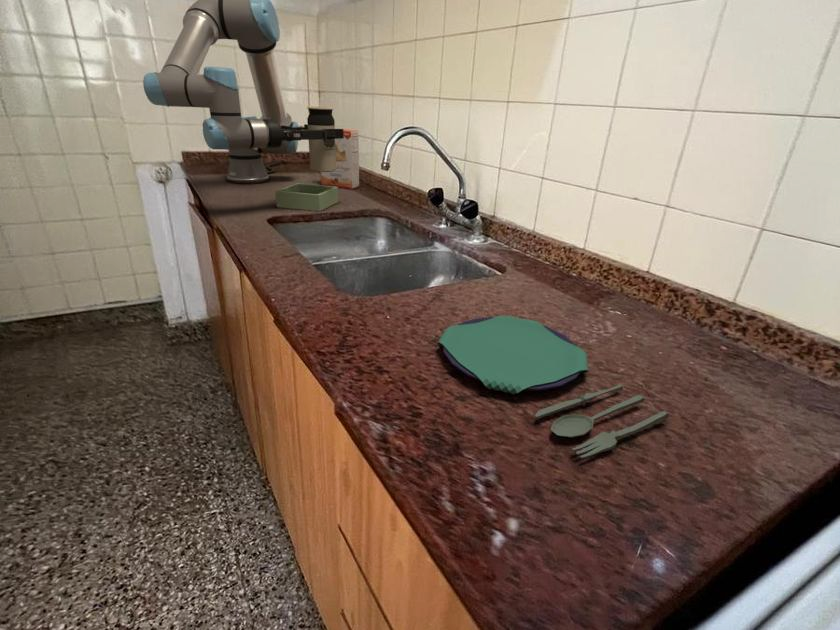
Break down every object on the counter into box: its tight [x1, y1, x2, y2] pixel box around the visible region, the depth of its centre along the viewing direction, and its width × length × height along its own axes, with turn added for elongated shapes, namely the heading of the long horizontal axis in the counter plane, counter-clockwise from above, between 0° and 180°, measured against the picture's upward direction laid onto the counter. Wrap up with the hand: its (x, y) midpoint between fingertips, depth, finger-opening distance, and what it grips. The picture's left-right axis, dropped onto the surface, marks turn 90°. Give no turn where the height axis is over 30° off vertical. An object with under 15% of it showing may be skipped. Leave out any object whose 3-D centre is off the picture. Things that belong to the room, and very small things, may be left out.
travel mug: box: [306, 106, 336, 173], centre depth 137 cm, size 8×8×18 cm
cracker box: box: [320, 127, 360, 190], centre depth 171 cm, size 14×6×21 cm, turn 67°
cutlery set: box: [437, 315, 670, 460], centre depth 60 cm, size 20×30×2 cm, turn 28°
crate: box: [274, 182, 340, 212], centre depth 145 cm, size 15×15×5 cm
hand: (335, 132), depth 139 cm, fingers closed on travel mug, 8 cm apart
